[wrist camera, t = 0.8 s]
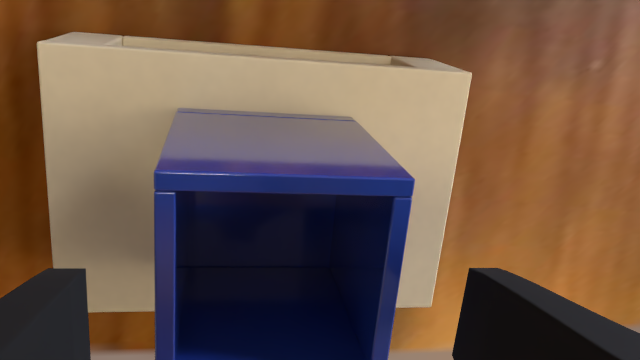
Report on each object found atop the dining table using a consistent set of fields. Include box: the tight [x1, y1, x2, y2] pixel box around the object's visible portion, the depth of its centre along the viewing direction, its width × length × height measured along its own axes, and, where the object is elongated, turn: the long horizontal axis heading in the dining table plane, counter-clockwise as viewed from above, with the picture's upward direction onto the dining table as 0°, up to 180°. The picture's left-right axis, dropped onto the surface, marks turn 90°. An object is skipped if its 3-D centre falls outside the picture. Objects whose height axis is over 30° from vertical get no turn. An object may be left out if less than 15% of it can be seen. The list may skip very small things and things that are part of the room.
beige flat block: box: [37, 32, 472, 312], centre depth 18 cm, size 8×12×4 cm, turn 86°
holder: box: [154, 108, 415, 360], centre depth 14 cm, size 5×5×6 cm
